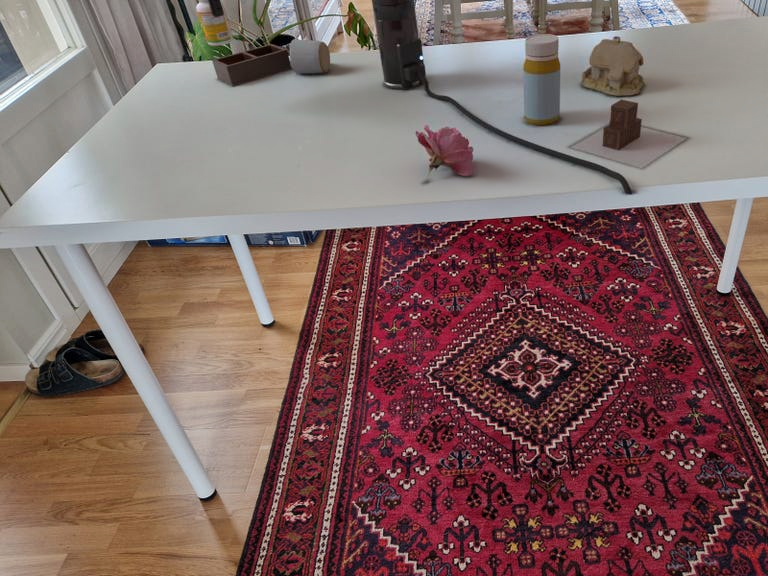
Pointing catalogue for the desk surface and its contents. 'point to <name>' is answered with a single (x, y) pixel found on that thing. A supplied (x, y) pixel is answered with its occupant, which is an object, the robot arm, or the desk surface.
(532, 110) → the bottle
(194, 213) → the desk surface
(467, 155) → the flower
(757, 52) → the desk surface
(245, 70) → the compartment organizer
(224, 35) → the supplement bottle
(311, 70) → the ceramic mug
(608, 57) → the ceramic model
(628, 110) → the stack of crates
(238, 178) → the desk surface
